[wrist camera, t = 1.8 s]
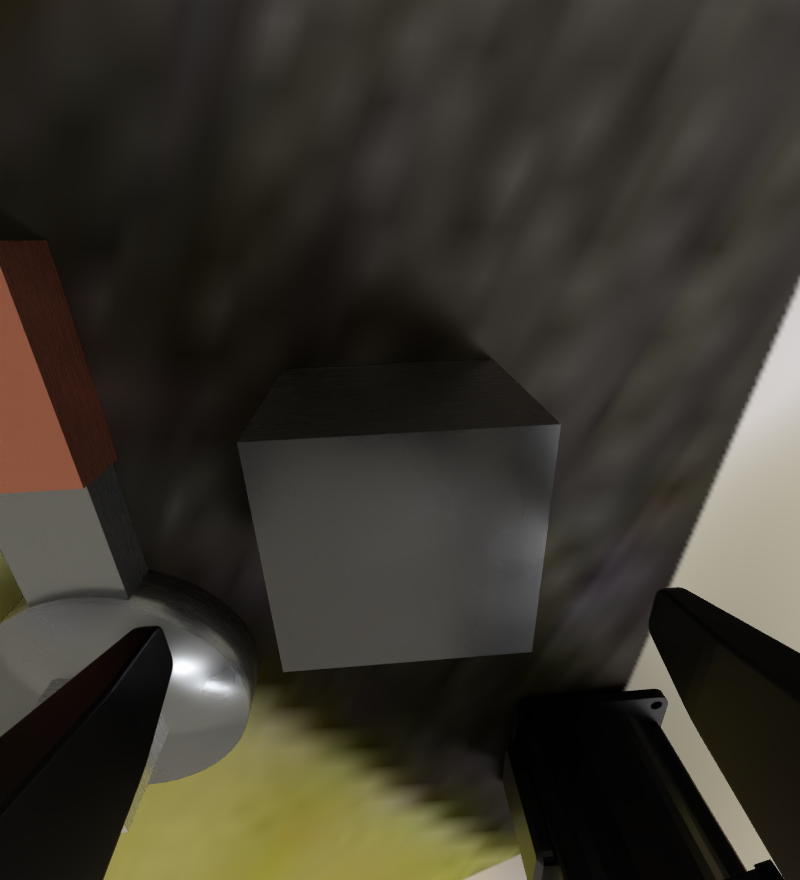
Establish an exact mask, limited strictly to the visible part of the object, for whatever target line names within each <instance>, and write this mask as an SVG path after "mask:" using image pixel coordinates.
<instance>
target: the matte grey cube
mask: <svg viewBox="0 0 800 880" xmlns="http://www.w3.org/2000/svg"><path fill="white" fill-rule="evenodd" d="M560 427H561V424H560V423H559V422H558V421H557V420H556V419H555V418H554V417H553V416H552V415H551V414H550V413H549V412H548V411H547V410H545V409H544V408H543V407H542V406H541V405H540V404H539V403H538V402H537V401H536V400H535V399H534V398H533V397H532V396H531V395H530V394H529V393H528V392H527V391H526V390H525V389H524V388H523V387H522V386H521V385H519V384H518V383H517V382H516V381H515V380H514V379H513V378H512V377H511V376H510V375H509V374H508V373H507V372H506V371H505V370H504V369H503V368H502V367H501V366H500V365H499V364H498V363H497V362H496V361H495V360H494V359H479V360H458V361H438V362H417V363H397V364H376V365H356V366H335V367H315V368H295V369H283V371H282V372H281V374H280V376H279V377H278V379H277V380H276V382H275V383H274V385H273V387H272V388H271V390H270V391H269V393H268V394H267V396H266V398H265V399H264V401H263V402H262V404H261V405H260V407H259V409H258V410H257V412H256V413H255V415H254V416H253V418H252V420H251V421H250V423H249V424H248V426H247V427H246V429H245V431H244V432H243V434H242V435H241V437H240V439H239V440H238V442H237V445H238V450H239V455H240V460H241V465H242V470H243V475H244V480H245V485H246V490H247V495H248V500H249V505H250V510H251V515H252V520H253V525H254V529H255V534H256V539H257V544H258V549H259V554H260V559H261V564H262V569H263V574H264V579H265V584H266V589H267V594H268V599H269V604H270V609H271V614H272V619H273V624H274V629H275V634H276V639H277V643H278V648H279V653H280V658H281V663H282V668H283V672H291V671H303V670H316V669H328V668H341V667H353V666H365V665H378V664H390V663H402V662H415V661H427V660H439V659H452V658H464V657H476V656H489V655H501V654H513V653H526V652H532V648H533V640H534V633H535V625H536V617H537V609H538V601H539V593H540V585H541V577H542V569H543V561H544V553H545V545H546V538H547V530H548V522H549V514H550V506H551V498H552V490H553V482H554V474H555V466H556V458H557V450H558V443H559V435H560Z"/></svg>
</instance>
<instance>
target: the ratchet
mask: <svg viewBox="0 0 800 880" xmlns="http://www.w3.org/2000/svg"><path fill="white" fill-rule="evenodd" d="M117 459H118V456H117V453H116V450H115V447H114V444H113V441H112V438H111V435H110V432H109V429H108V426H107V423H106V420H105V417H104V414H103V411H102V408H101V405H100V402H99V399H98V396H97V392H96V389H95V386H94V383H93V380H92V377H91V374H90V371H89V368H88V365H87V362H86V359H85V356H84V353H83V350H82V347H81V344H80V341H79V338H78V335H77V332H76V329H75V325H74V322H73V319H72V316H71V313H70V310H69V307H68V304H67V301H66V298H65V295H64V292H63V289H62V286H61V283H60V280H59V277H58V274H57V271H56V268H55V265H54V262H53V258H52V255H51V252H50V249H49V246H48V243H47V240H40V241H0V550H1V552H2V554H3V556H4V558H5V560H6V562H7V564H8V566H9V568H10V570H11V572H12V574H13V576H14V578H15V580H16V582H17V584H18V586H19V588H20V590H21V592H22V594H23V596H24V598H23V599H22V600H21V601H20V602H19V603H18V604H17V605H16V606H15V608H14V609H13V610H12V611H11V612H10V613H9V614H8V615H7V616H6V617H5V618H4V619H3V620H2V621H1V622H0V736H2V735H3V734H4V733H5V732H7V731H8V730H9V729H10V728H11V727H13V726H14V725H15V724H16V723H18V722H19V721H20V720H21V719H23V718H24V717H25V716H26V715H27V714H29V713H30V712H31V711H32V710H34V709H35V708H36V707H37V706H39V705H40V704H41V703H42V702H43V701H45V700H46V699H47V698H48V697H50V696H51V695H52V694H53V693H55V692H56V691H57V690H58V689H59V688H61V687H62V686H63V685H64V684H66V683H67V682H68V681H69V680H71V679H72V678H73V677H74V676H75V675H77V674H78V673H79V672H80V671H82V670H83V669H84V668H85V667H86V666H88V665H89V664H90V663H91V662H93V661H94V660H95V659H96V658H98V657H99V656H100V655H101V654H102V653H104V652H105V651H106V650H107V649H109V648H110V647H111V646H112V645H114V644H115V643H116V642H117V641H118V640H120V639H121V638H122V637H123V636H125V635H126V634H127V633H128V632H130V631H131V630H132V629H134V628H137V627H144V626H160V627H161V628H162V629H163V631H164V634H165V637H166V640H167V643H168V646H169V649H170V652H171V655H172V658H173V669H172V674H171V678H170V681H169V685H168V689H167V692H166V696H165V700H164V703H163V707H162V711H161V714H160V718H159V721H158V725H157V729H156V732H155V736H154V740H153V743H152V747H151V751H150V754H149V757H148V760H147V764H146V767H145V770H144V773H143V775H142V778H141V781H140V784H139V787H138V789H137V792H136V794H135V797H134V800H133V802H132V805H131V808H130V810H129V813H128V816H127V818H126V821H125V823H124V826H123V829H122V831H121V833H127V832H128V831H129V829H130V826H131V824H132V821H133V819H134V816H135V814H136V811H137V809H138V806H139V804H140V801H141V799H142V796H143V794H144V791H145V789H146V786H147V784H155V783H163V782H168V781H172V780H177V779H180V778H184V777H187V776H190V775H193V774H195V773H198V772H200V771H202V770H205V769H206V768H208V767H210V766H212V765H213V764H215V763H217V762H218V761H219V760H221V759H222V758H223V757H225V756H226V755H227V754H228V753H229V752H230V751H231V750H232V749H233V748H234V747H235V745H236V744H237V743H238V741H239V740H240V738H241V736H242V734H243V732H244V730H245V728H246V724H247V720H248V716H249V712H250V708H251V704H252V700H253V696H254V691H255V687H256V683H257V679H258V675H259V664H260V662H259V655H258V650H257V647H256V644H255V641H254V639H253V637H252V635H251V633H250V631H249V629H248V628H247V627H246V625H245V624H244V623H243V621H242V620H241V619H240V618H239V617H238V615H237V614H236V613H235V612H234V611H233V610H232V609H231V608H229V607H228V606H227V605H226V604H225V603H223V602H222V601H221V600H220V599H218V598H217V597H215V596H213V595H212V594H210V593H209V592H207V591H206V590H204V589H202V588H200V587H198V586H196V585H194V584H192V583H189V582H187V581H184V580H182V579H179V578H176V577H174V576H170V575H167V574H163V573H159V572H156V571H150V570H148V567H147V564H146V561H145V558H144V555H143V552H142V549H141V546H140V543H139V540H138V537H137V534H136V531H135V528H134V525H133V522H132V519H131V516H130V513H129V510H128V507H127V504H126V501H125V498H124V495H123V492H122V489H121V486H120V483H119V480H118V477H117V474H116V471H115V468H114V465H113V462H114V461H115V460H117Z"/></svg>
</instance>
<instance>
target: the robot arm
mask: <svg viewBox="0 0 800 880" xmlns="http://www.w3.org/2000/svg"><path fill="white" fill-rule="evenodd" d="M649 630H650V634H651V636H652V638H653V640H654V643H655V645H656V647H657V649H658V651H659V653H660V655H661V657H662V659H663V662H664V664H665V666H666V668H667V670H668V672H669V674H670V676H671V679H672V681H673V683H674V685H675V687H676V689H677V691H678V694H679V696H680V697H681V700H682V702H683V704H684V706H685V708H686V710H687V712H688V714H689V716H690V718H691V720H692V721H693V723H694V725H695V727H696V729H697V731H698V732H699V734H700V736H701V738H702V739H703V741H704V743H705V744H706V746H707V748H708V750H709V751H710V753H711V755H712V756H713V758H714V760H715V762H716V763H717V765H718V767H719V768H720V770H721V772H722V773H723V775H724V776H725V779H726V780H727V782H728V784H729V786H730V787H731V789H732V791H733V792H734V794H735V796H736V798H737V799H738V801H739V803H740V804H741V806H742V808H743V809H744V811H745V813H746V815H747V816H748V818H749V820H750V821H751V823H752V825H753V827H754V828H755V830H756V832H757V833H758V835H759V837H760V839H761V840H762V842H763V844H764V845H765V847H766V849H767V850H768V852H769V854H770V856H771V857H772V859H773V861H774V862H775V864H776V866H777V867H778V869H779V871H780V873H781V874H782V876H783V877H782V876H781V874H780V873H779V871H778V870H777V868H776V867H775V865H774V864H773V863H772V861H771V860H770V859H769V860H766V861H763V862H761V863H758V864H755V865H754V866H755V869H753V870H750V871H747V870H746V869H745V867H744V865H743V863H742V862H741V860H740V858H739V857H738V855H737V854H736V852H735V850H734V848H733V847H732V845H731V844H730V842H729V840H728V838H727V837H726V835H725V834H724V832H723V830H722V828H721V827H720V825H719V823H718V822H717V820H716V819H715V817H714V815H713V813H712V812H711V810H710V808H709V807H708V805H707V804H706V802H705V800H704V799H703V797H702V795H701V794H700V792H699V790H698V789H697V787H696V785H695V783H694V782H693V780H692V779H691V777H690V775H689V773H688V772H687V770H686V768H685V767H684V765H683V764H682V762H681V760H680V758H679V757H678V755H677V754H676V752H675V750H674V749H673V747H672V745H671V743H670V742H669V740H668V738H667V737H666V735H665V734H664V732H663V730H662V729H661V724H662V721H663V718H664V715H665V712H666V708H667V705H668V701H667V699H666V698H665V696H664V695H663V693H662V692H661V690H658V689H646V690H636V691H623V692H611V693H600V694H588V695H577V696H565V697H553V698H542V699H530V700H524V701H522V702H520V703H518V704H517V705H516V708H515V715H514V724H513V732H512V741H511V742H509V743H508V745H507V747H506V751H505V760H504V770H503V784H504V788H505V792H506V796H507V800H508V804H509V808H510V812H511V816H512V820H513V824H514V828H515V832H516V836H517V840H518V844H519V848H520V852H521V856H522V860H523V864H524V868H525V872H526V876H527V880H800V653H798V652H797V651H795V650H793V649H791V648H790V647H788V646H786V645H784V644H782V643H781V642H779V641H777V640H775V639H773V638H772V637H770V636H768V635H766V634H764V633H763V632H761V631H759V630H757V629H755V628H754V627H752V626H750V625H749V624H747V623H745V622H743V621H741V620H740V619H738V618H736V617H734V616H732V615H731V614H729V613H727V612H725V611H724V610H722V609H720V608H718V607H716V606H715V605H713V604H711V603H709V602H708V601H706V600H704V599H702V598H700V597H699V596H697V595H695V594H693V593H691V592H690V591H688V590H686V589H684V588H679V587H677V588H663V589H659V590H658V592H657V593H656V595H655V599H654V603H653V606H652V610H651V614H650V618H649ZM172 669H173V658H172V655H171V652H170V649H169V646H168V643H167V640H166V637H165V634H164V631H163V629H162V628H161V627H160V626H144V627H137V628H134V629H132V630H131V631H130V632H128V633H127V634H126V635H125V636H123V637H122V638H121V639H120V640H118V641H117V642H116V643H115V644H114V645H112V646H111V647H110V648H109V649H107V650H106V651H105V652H104V653H102V654H101V655H100V656H99V657H98V658H96V659H95V660H94V661H93V662H91V663H90V664H89V665H88V666H86V667H85V668H84V669H83V670H82V671H80V672H79V673H78V674H77V675H75V676H74V677H73V678H72V679H71V680H69V681H68V682H67V683H66V684H64V685H63V686H62V687H61V688H59V689H58V690H57V691H56V692H55V693H53V694H52V695H51V696H50V697H48V698H47V699H46V700H45V701H43V702H42V703H41V704H40V705H39V706H37V707H36V708H35V709H34V710H32V711H31V712H30V713H29V714H27V715H26V716H25V717H24V718H23V719H21V720H20V721H19V722H18V723H16V724H15V725H14V726H13V727H11V728H10V729H9V730H8V731H7V732H5V733H4V734H3V735H2V736H0V880H103V879H104V876H105V873H106V871H107V868H108V866H109V863H110V860H111V858H112V855H113V852H114V850H115V847H116V845H117V842H118V839H119V837H120V834H121V831H122V829H123V826H124V823H125V821H126V818H127V816H128V813H129V810H130V808H131V805H132V802H133V800H134V797H135V794H136V792H137V789H138V787H139V784H140V781H141V778H142V775H143V773H144V770H145V767H146V764H147V760H148V757H149V754H150V751H151V747H152V743H153V740H154V736H155V732H156V729H157V725H158V721H159V718H160V714H161V711H162V707H163V703H164V700H165V696H166V692H167V689H168V685H169V681H170V678H171V674H172Z"/></svg>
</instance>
